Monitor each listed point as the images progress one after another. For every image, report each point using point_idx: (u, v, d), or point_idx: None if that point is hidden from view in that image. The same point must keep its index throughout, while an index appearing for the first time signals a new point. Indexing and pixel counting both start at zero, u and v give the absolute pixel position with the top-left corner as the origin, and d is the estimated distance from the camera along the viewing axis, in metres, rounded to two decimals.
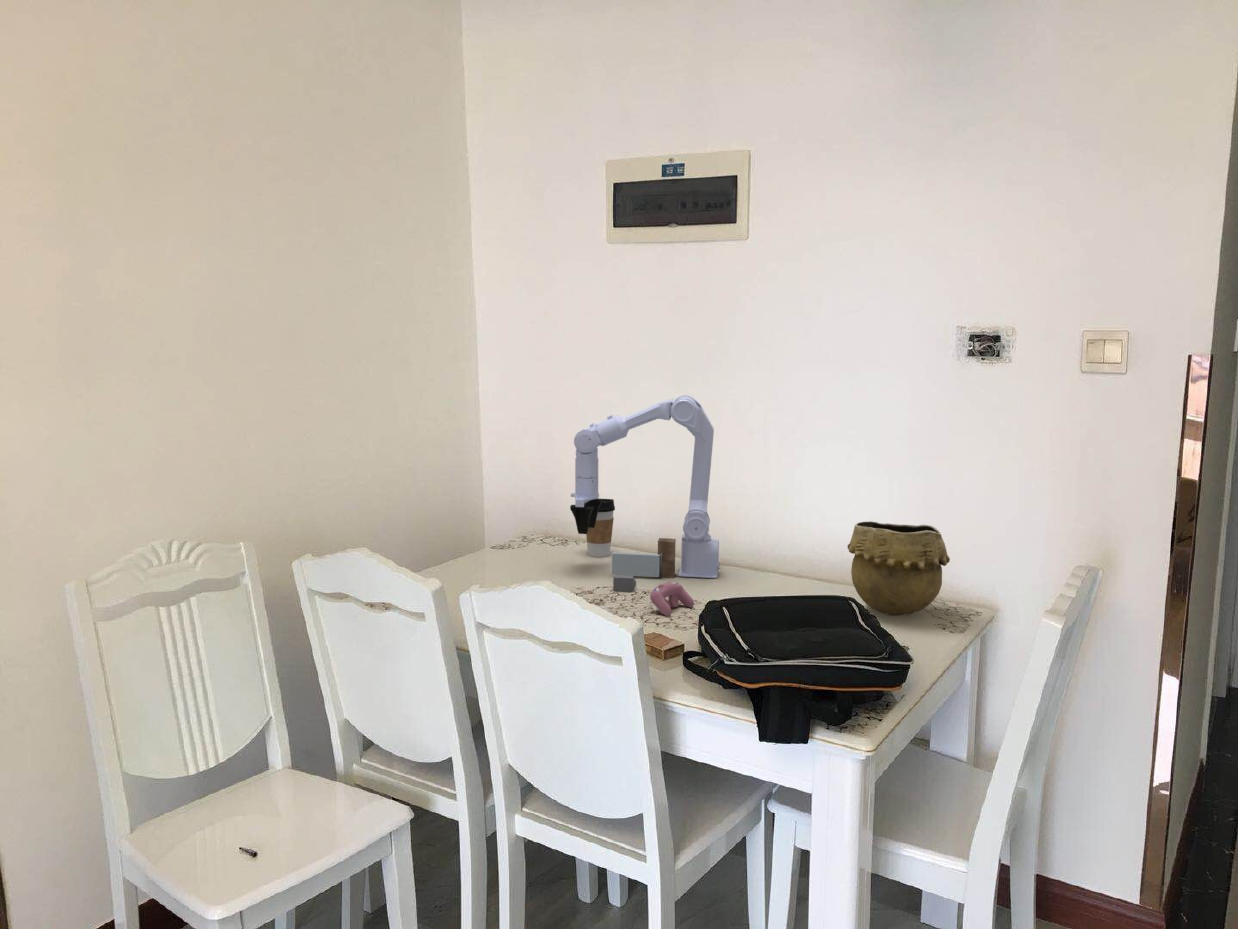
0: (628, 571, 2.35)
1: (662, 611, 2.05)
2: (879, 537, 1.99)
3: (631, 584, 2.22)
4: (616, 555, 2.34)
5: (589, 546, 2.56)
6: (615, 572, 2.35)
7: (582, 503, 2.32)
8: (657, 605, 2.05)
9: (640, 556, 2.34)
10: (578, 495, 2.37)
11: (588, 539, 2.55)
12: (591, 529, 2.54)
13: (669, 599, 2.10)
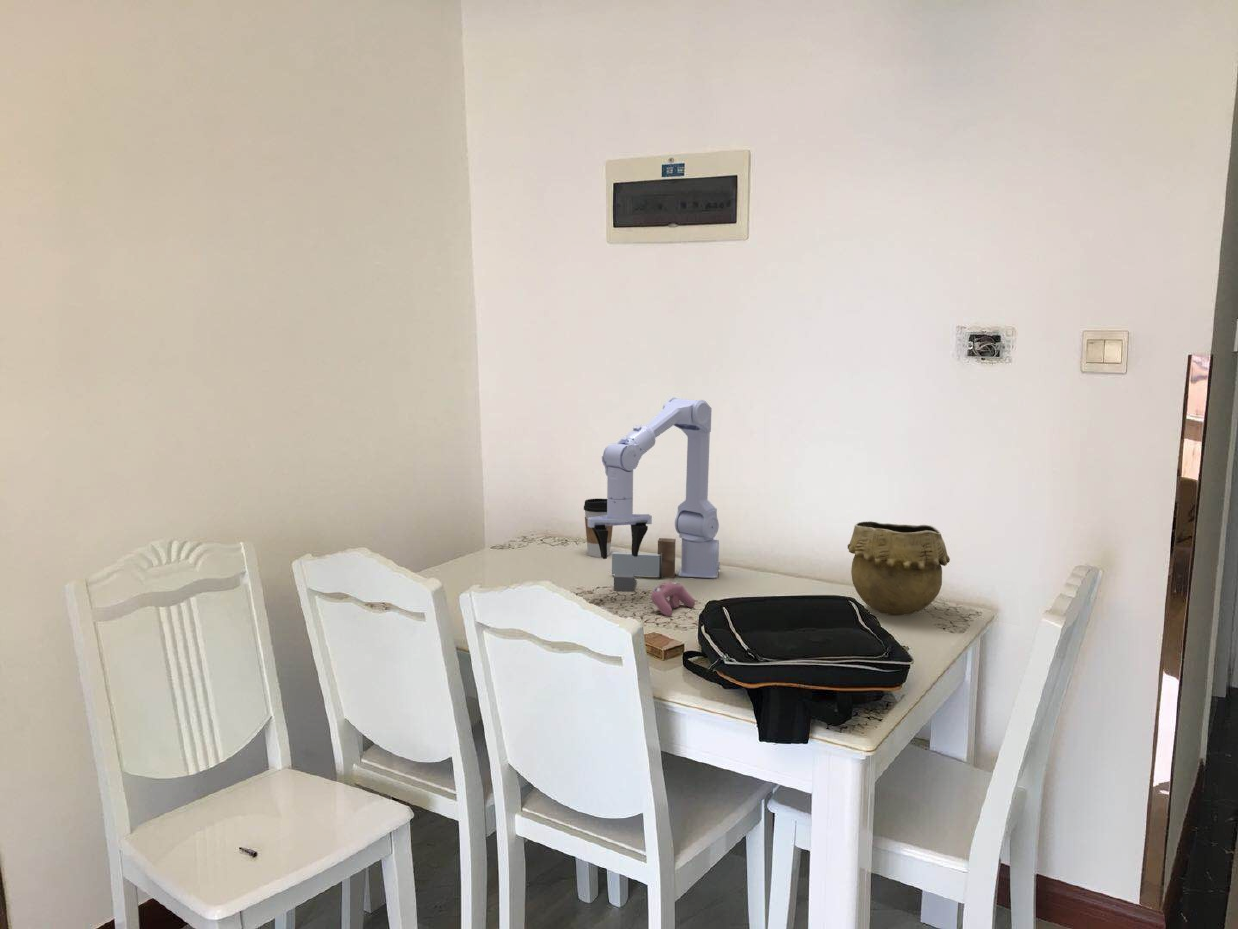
0: (628, 571, 2.35)
1: (663, 611, 2.04)
2: (879, 537, 1.99)
3: (631, 583, 2.23)
4: (616, 555, 2.34)
5: (589, 546, 2.56)
6: (615, 572, 2.35)
7: (589, 523, 2.12)
8: (658, 605, 2.05)
9: (640, 556, 2.34)
10: (607, 515, 2.16)
11: (588, 539, 2.55)
12: (591, 529, 2.54)
13: (670, 599, 2.10)
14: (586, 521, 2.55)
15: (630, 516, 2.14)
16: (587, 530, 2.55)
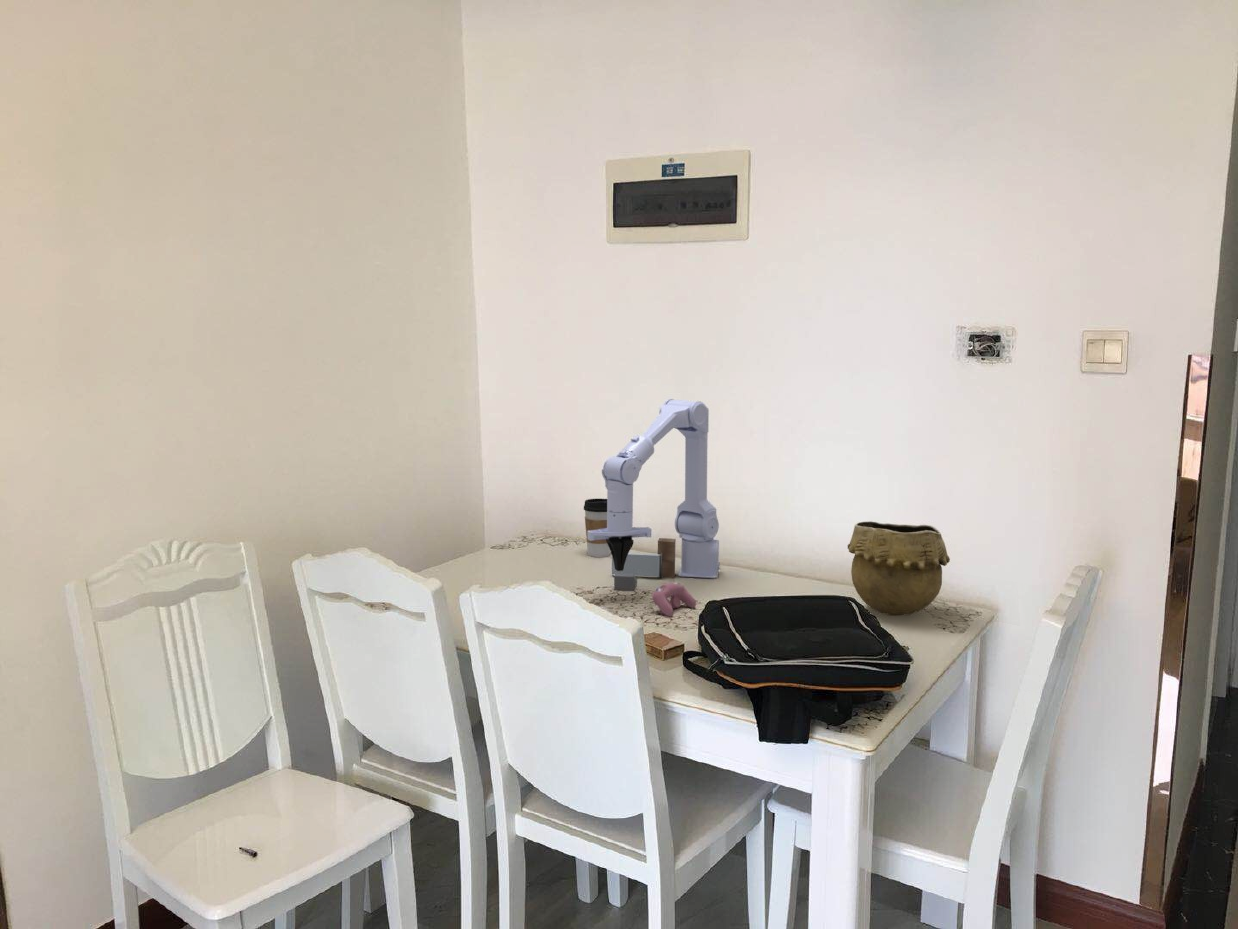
0: (628, 571, 2.35)
1: (664, 611, 2.04)
2: (879, 537, 1.99)
3: (632, 582, 2.23)
4: None
5: (589, 546, 2.56)
6: (615, 572, 2.35)
7: (589, 536, 2.13)
8: (659, 605, 2.05)
9: (640, 556, 2.34)
10: (607, 528, 2.16)
11: None
12: (591, 529, 2.54)
13: (671, 599, 2.10)
14: (586, 521, 2.55)
15: (630, 529, 2.14)
16: (587, 530, 2.55)
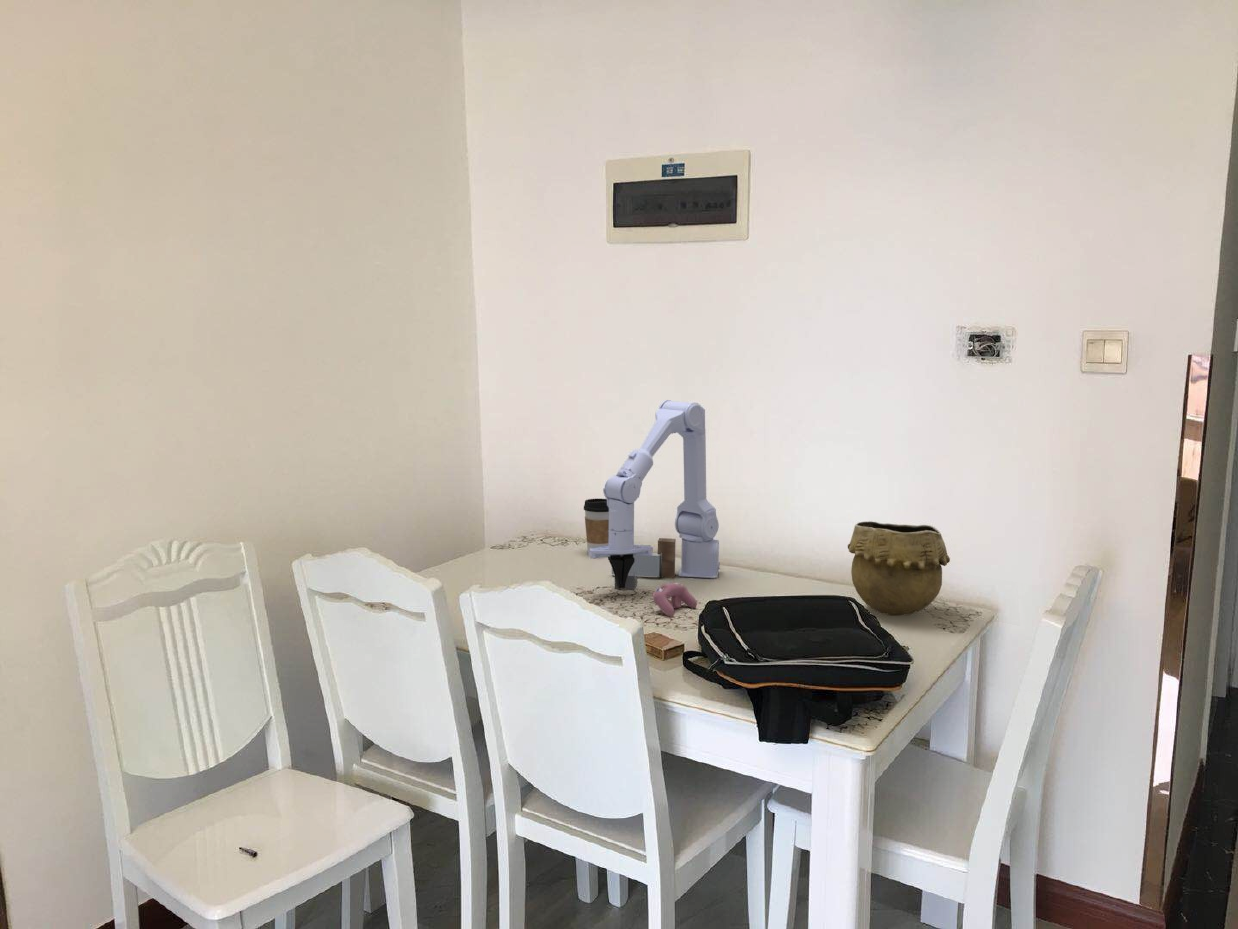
0: None
1: (665, 612, 2.04)
2: (879, 537, 1.99)
3: (632, 582, 2.24)
4: None
5: (589, 546, 2.56)
6: None
7: (591, 554, 2.16)
8: (660, 606, 2.05)
9: (640, 556, 2.34)
10: (608, 546, 2.19)
11: (588, 539, 2.55)
12: (591, 529, 2.54)
13: (672, 600, 2.10)
14: (586, 521, 2.55)
15: (631, 547, 2.17)
16: (587, 530, 2.55)
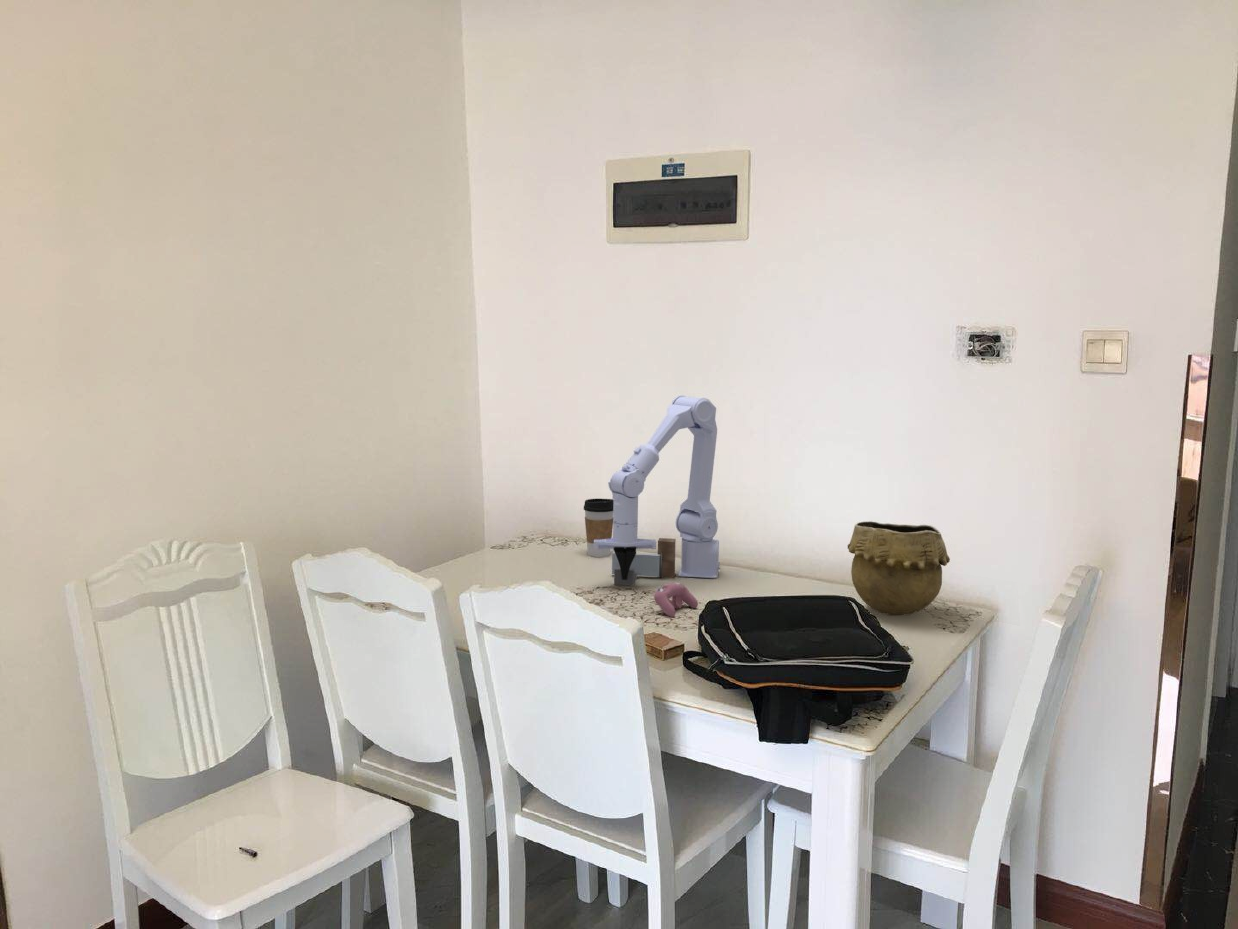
0: None
1: (666, 612, 2.04)
2: (879, 537, 1.99)
3: (631, 576, 2.28)
4: None
5: (589, 546, 2.56)
6: None
7: (594, 545, 2.24)
8: (661, 606, 2.05)
9: (640, 556, 2.34)
10: None
11: (588, 539, 2.55)
12: (591, 529, 2.54)
13: (673, 600, 2.10)
14: (586, 521, 2.55)
15: (633, 540, 2.23)
16: (587, 530, 2.55)
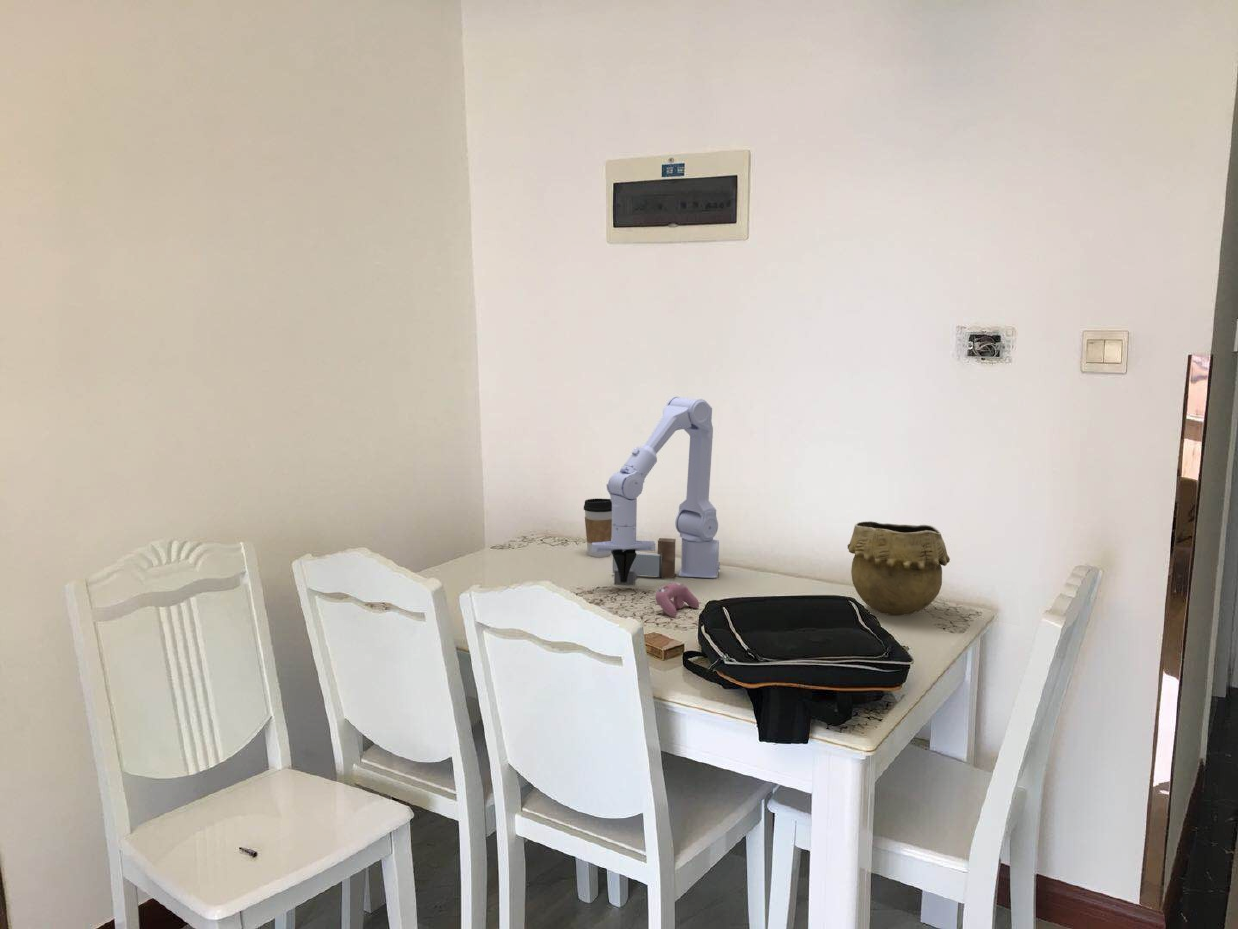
0: None
1: (667, 612, 2.04)
2: (879, 537, 1.99)
3: (631, 577, 2.28)
4: None
5: (589, 546, 2.56)
6: None
7: (593, 548, 2.21)
8: (662, 606, 2.04)
9: (640, 556, 2.34)
10: None
11: (588, 539, 2.55)
12: (591, 529, 2.54)
13: (674, 600, 2.09)
14: (586, 521, 2.55)
15: (632, 543, 2.21)
16: (587, 530, 2.55)
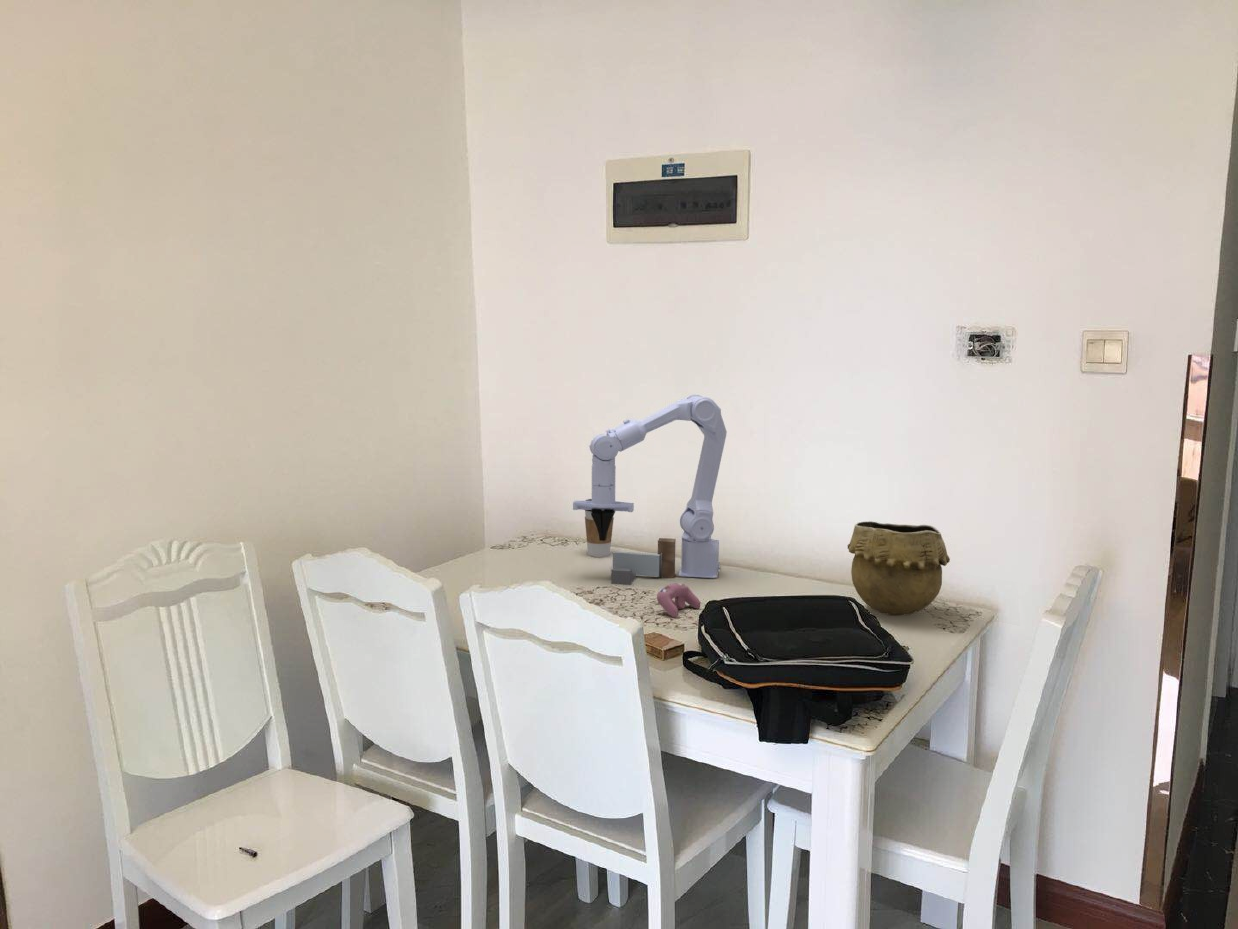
0: None
1: (669, 612, 2.04)
2: (879, 537, 1.99)
3: (628, 577, 2.28)
4: (617, 554, 2.35)
5: (589, 546, 2.56)
6: None
7: (573, 505, 2.32)
8: (664, 606, 2.04)
9: (640, 556, 2.34)
10: None
11: (588, 539, 2.55)
12: (591, 529, 2.54)
13: (676, 600, 2.09)
14: (586, 521, 2.55)
15: (609, 502, 2.29)
16: (587, 530, 2.55)
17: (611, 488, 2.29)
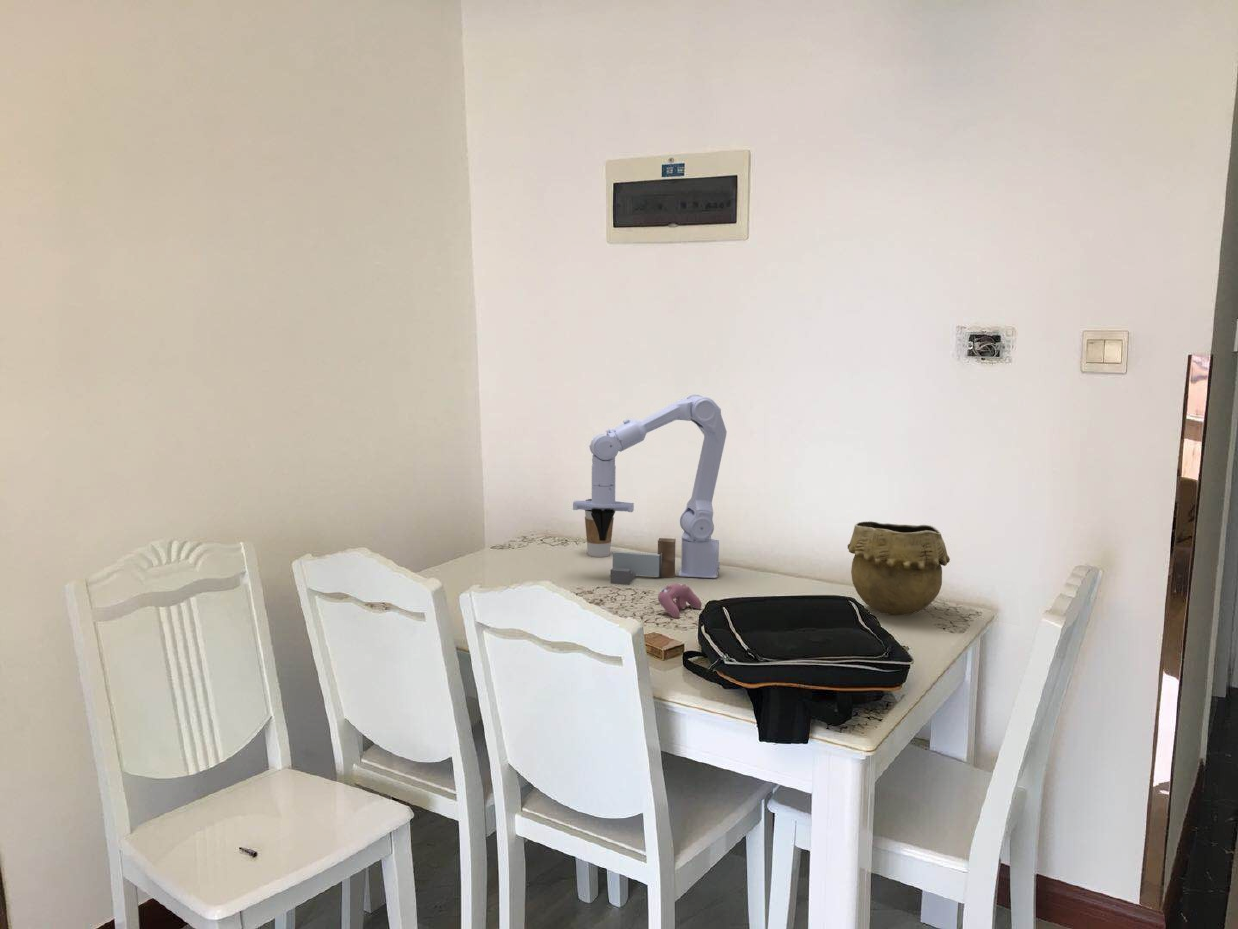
0: None
1: (670, 613, 2.03)
2: (879, 537, 1.99)
3: (627, 577, 2.28)
4: (617, 554, 2.35)
5: (589, 546, 2.56)
6: None
7: (573, 505, 2.32)
8: (665, 607, 2.04)
9: (640, 556, 2.34)
10: None
11: (588, 539, 2.55)
12: (591, 529, 2.54)
13: (677, 600, 2.09)
14: (586, 521, 2.55)
15: (609, 502, 2.29)
16: (587, 530, 2.55)
17: (611, 488, 2.29)
